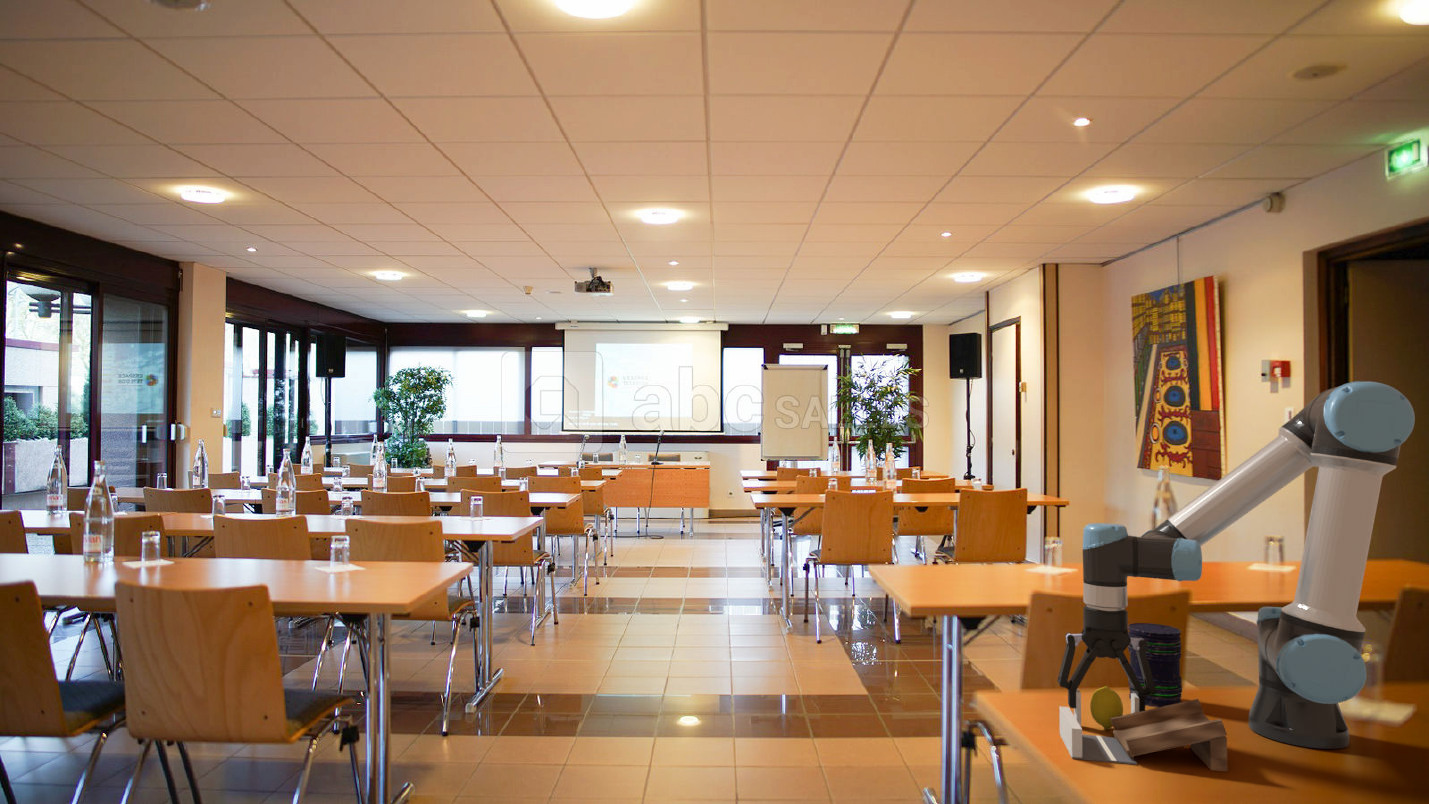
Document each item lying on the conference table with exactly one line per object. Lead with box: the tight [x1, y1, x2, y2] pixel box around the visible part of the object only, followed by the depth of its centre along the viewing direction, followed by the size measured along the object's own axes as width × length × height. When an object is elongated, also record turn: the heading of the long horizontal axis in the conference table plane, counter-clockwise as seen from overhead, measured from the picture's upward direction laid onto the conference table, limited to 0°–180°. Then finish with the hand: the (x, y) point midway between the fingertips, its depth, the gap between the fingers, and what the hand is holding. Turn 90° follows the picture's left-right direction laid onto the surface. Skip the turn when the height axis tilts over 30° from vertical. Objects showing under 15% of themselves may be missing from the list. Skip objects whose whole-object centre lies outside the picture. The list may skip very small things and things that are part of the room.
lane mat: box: [1060, 734, 1138, 766], centre depth 142 cm, size 10×12×1 cm
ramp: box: [1110, 698, 1228, 772], centre depth 139 cm, size 15×12×8 cm
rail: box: [1059, 705, 1083, 761], centre depth 143 cm, size 2×12×5 cm, turn 167°
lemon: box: [1089, 685, 1124, 731], centre depth 152 cm, size 6×6×8 cm
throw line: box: [1095, 735, 1117, 764], centre depth 141 cm, size 1×12×1 cm, turn 166°
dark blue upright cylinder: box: [1127, 622, 1183, 708], centre depth 170 cm, size 10×10×15 cm
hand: (1106, 728), depth 151 cm, fingers open, 9 cm apart
